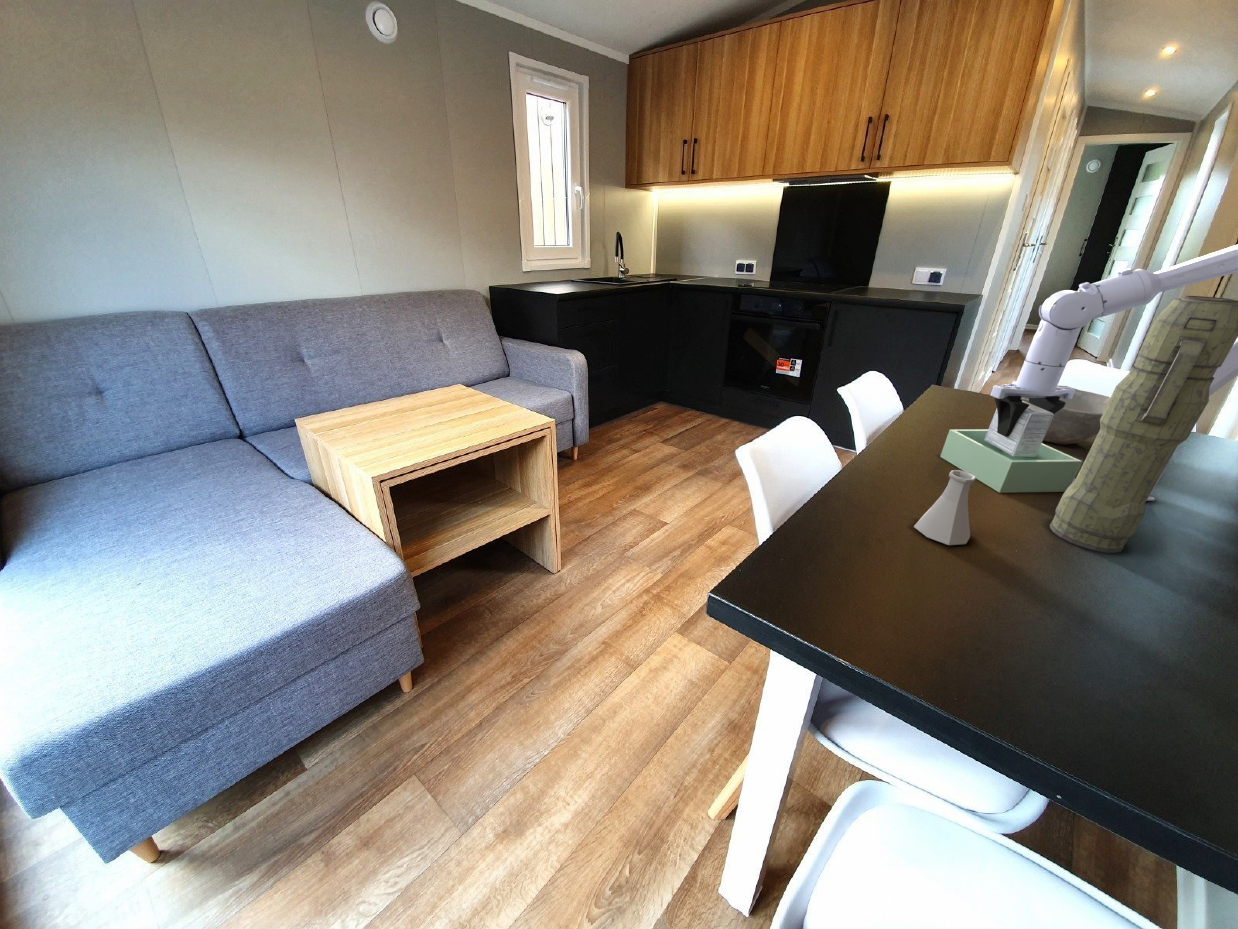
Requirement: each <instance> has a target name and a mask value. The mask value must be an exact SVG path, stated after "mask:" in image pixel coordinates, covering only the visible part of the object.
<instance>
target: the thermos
mask: <svg viewBox="0 0 1238 929" xmlns="http://www.w3.org/2000/svg"><path fill="white" fill-rule="evenodd" d="M1237 337H1238V299H1237V298H1235V299H1234V298H1227V297H1215V296H1204V295H1203V296H1200V295H1183V297H1182V298H1174V299H1173V300H1172V301H1171V302H1170V303H1169V304H1168V305H1167V306H1166V307H1165V308H1164V309H1163V310H1162V311H1161V312H1160V313H1159V314H1158V316H1157V317H1155V319H1154V321H1153V323H1152V325H1151V327H1150V329H1149V330H1148V333H1147V335H1146V337H1145V339H1144V342H1143V344H1142V346H1141V348H1140V349H1139V351H1138V354H1137V356H1138V358H1137V359H1136V362H1135V364H1134V365H1132V366H1131V368H1130V370H1129V372H1128V373H1127V375H1126V376H1125V377H1124V378H1122V380H1121V381H1119V383H1118V384H1116V386H1115V388H1114V389H1113V392H1112V394H1111V395H1110V400H1109V402H1108V404H1107V406H1106V408H1105V410H1104V412H1103V414H1102V416H1101V419H1100V427H1101V428H1100V430H1099V432H1098V434H1096V437H1095V438H1094V440H1093V442H1092V445H1091V447H1090V449H1089V451H1088V453H1087V455H1086V457H1085V459H1084V460H1083V462H1082V464H1081V466H1080V468H1079V470H1078V472H1077V476H1076V477H1075V479H1076V480H1075V481H1074V482H1073V483H1072V484H1071V485H1070V486H1069V487H1068V488H1067V489H1066V491H1065V492H1063V494H1062V496H1061V498H1060V500H1059V502H1058V503H1057V506H1056V508H1055V510H1054V511H1055V515H1054V517H1053V518H1052V520H1051V522H1050V523H1049V528H1050V530H1051V531H1052V532H1053V534H1055V535H1057V536H1058V537H1059V538H1061V539H1063V540H1064V541H1067V542H1069V543H1071V544H1073V545H1076V546H1078V547H1081V548H1084V549H1087V550H1091V551H1094V552H1095V551H1096V552H1101V553H1105V554H1106V553H1111V554H1112V553H1113V554H1115V553H1120V552H1122V551H1123V549H1124V548H1125V546H1126V543H1127V541H1128V540H1129V538H1131V537H1133V535H1134V533H1135V532H1136V530H1137V529H1138V527H1139V525H1140V523H1141V521H1142V520H1143V518H1144V516H1145V509H1146V508H1145V504H1146V502H1147V501H1146V500H1147V498H1148V497H1149V495H1150V493H1151V491H1152V490H1153V488H1154V486H1155V484H1156V483H1157V484H1158V482H1159V481H1158V479H1159V477H1160V476H1161V477H1162V475H1163V474H1162V472H1163V470H1164V469H1165V470H1166V468H1167V465H1168V464H1169V462H1170V460H1171V458H1172V456H1173V455H1174V453H1175V451H1176V449H1177V448H1178V446H1179V445H1181V444H1182V443H1184V442H1185V441H1186V440H1187V439H1188V438H1189V436H1190V434H1191V433H1192V431H1193V430H1194V428H1195V426H1196V424H1197V423H1198V421H1199V419H1200V417H1201V416H1202V414H1203V412H1204V410H1205V409H1206V407H1207V406H1208V403H1209V402H1210V396H1209V391H1210V385H1211V383H1212V382H1213V380H1214V377H1213V375H1214V373H1215V372H1216V370H1217V368H1218V367H1221V366H1222V364H1223V362H1224V360H1225V358H1226V357H1227V355H1228V353H1229V351H1230V350H1231V348H1232V346H1233V344H1234V343H1235V341H1236V339H1237ZM1165 467H1166V468H1165ZM1165 470H1164V471H1165ZM1163 473H1164V472H1163ZM1161 474H1162V475H1161ZM1161 477H1160V478H1161ZM1159 480H1160V479H1159ZM1157 481H1158V482H1157ZM1157 484H1156V485H1157ZM1155 487H1156V486H1155ZM1154 489H1155V488H1154ZM1153 491H1154V490H1153ZM1153 491H1152V492H1153ZM1151 494H1152V493H1151ZM1150 496H1151V495H1150Z"/></svg>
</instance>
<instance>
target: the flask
mask: <svg viewBox="0 0 1238 929" xmlns="http://www.w3.org/2000/svg"><path fill="white" fill-rule="evenodd" d="M948 477H949V480H948V483H947V485H946V487H945V489H944V491H943V492H942V494H941V495H940V496H939V497H938V499H937V500H936V501H935V502H934V503H933V504H932V505H931V506H930V507H929V509H928V510H927V511H926V512H925V513H924V514H923V515H922V516H921V517H920V519H919V520H918V521H917V522H916V523H915V524H914V526H913V528H914V529H916V530H917V531H918V532H920V533H921V534H922V535H923V536H925V537H926V538H928V539H931V540H934V541H936V542H939V543H942V544H944V545H947V546H956V545H958V546H959V545H966V544H967V543H968V541H969V540H970V538H971V528H970V519H969V502H968V499H969V492H970V488H971V485H972V484H973V483H974V482H975V480H977V479H976V476H974V475H972V474H970V473H968V472H965V471H963V470H961V469H954V470H950V471H949V473H948Z"/></svg>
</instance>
